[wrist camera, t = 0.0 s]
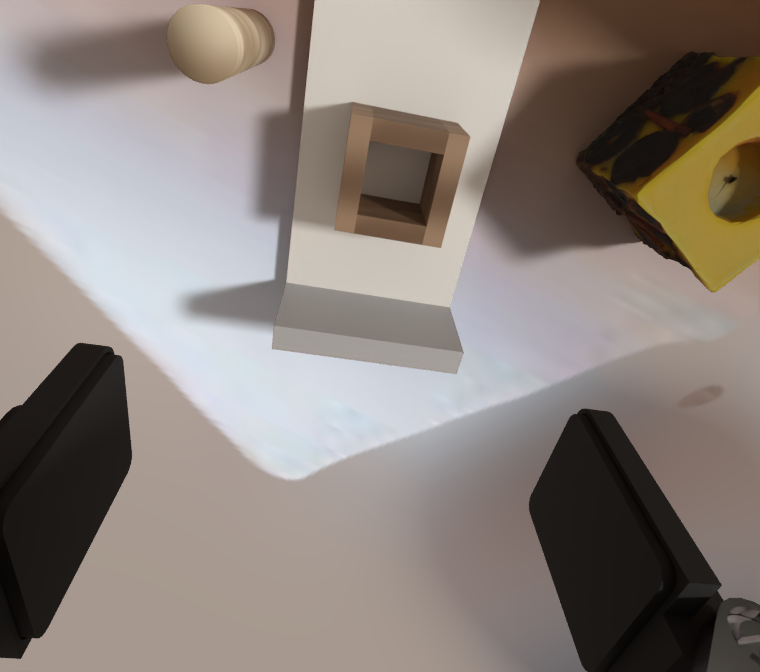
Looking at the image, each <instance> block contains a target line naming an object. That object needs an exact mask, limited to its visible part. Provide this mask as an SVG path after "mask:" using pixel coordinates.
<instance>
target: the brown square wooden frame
mask: <svg viewBox="0 0 760 672" xmlns="http://www.w3.org/2000/svg"><path fill="white" fill-rule="evenodd" d="M369 141H375V142H380V143H385V144H390V145H395V146H401V147H406V148H411V149H416V150H422V151H427V152H431V157H430V161H429V165H428V170H427V174H426V178H425V182H424V187H423V191H422V195H421V200H420V204H417V203H411V202H405V201H400V200H394V199H388V198H383V197H377V196H371V195H366V194H361V189H362V183H363V177H364V171H365V165H366V159H367V153H368V147H369ZM469 141H470V136H469V134H468V133H467V132H466V131H465V130H464V129H463V128H462V127H461V126H460V125H459V124H458V123H456V122H451V121H446V120H441V119H436V118H431V117H426V116H421V115H416V114H411V113H406V112H401V111H396V110H391V109H386V108H381V107H376V106H371V105H366V104H361V103H356V102H353V103H352V110H351V117H350V124H349V130H348V137H347V144H346V151H345V158H344V165H343V171H342V178H341V185H340V192H339V199H338V206H337V213H336V221H335V229H334V230H335V231H341V232H347V233H353V234H359V235H365V236H371V237H377V238H383V239H389V240H395V241H401V242H407V243H413V244H419V245H425V246H431V247H437V248H441V246H442V242H443V238H444V235H445V231H446V227H447V223H448V220H449V216H450V212H451V208H452V205H453V201H454V197H455V193H456V190H457V186H458V182H459V178H460V175H461V171H462V167H463V163H464V160H465V156H466V152H467V148H468V145H469Z"/></svg>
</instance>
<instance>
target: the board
mask: <svg viewBox="0 0 760 672" xmlns="http://www.w3.org/2000/svg"><path fill="white" fill-rule="evenodd" d="M539 3H540V0H315V2H314V12H313V22H312V32H311V42H310V52H309V62H308V72H307V82H306V92H305V102H304V112H303V121H302V131H301V141H300V151H299V161H298V171H297V181H296V191H295V201H294V211H293V221H292V231H291V241H290V251H289V260H288V270H287V280H286V285H285V289H284V292H283V296H282V299H281V303H280V306H279V310H278V313H277V317H276V320H275V324H274V331H273V342H272V349H276V350H284V351H291V352H298V353H306V354H313V355H320V356H328V357H335V358H342V359H350V360H357V361H364V362H372V363H379V364H387V365H394V366H401V367H409V368H416V369H423V370H431V371H438V372H445V373H453V374H457V371H458V368H459V365H460V362H461V359H462V356H463V353H464V352H463V349H462V346H461V343H460V339H459V336H458V333H457V330H456V326H455V323H454V320H453V317H452V313H451V310H450V305H451V301H452V298H453V294H454V291H455V288H456V284H457V281H458V277H459V274H460V271H461V267H462V264H463V260H464V257H465V254H466V250H467V247H468V243H469V240H470V237H471V233H472V230H473V227H474V223H475V220H476V216H477V213H478V210H479V206H480V203H481V199H482V196H483V193H484V189H485V186H486V182H487V179H488V176H489V172H490V169H491V165H492V162H493V159H494V155H495V152H496V148H497V145H498V142H499V138H500V135H501V132H502V128H503V125H504V121H505V118H506V115H507V111H508V108H509V104H510V101H511V98H512V94H513V91H514V87H515V84H516V81H517V77H518V74H519V70H520V67H521V64H522V60H523V57H524V53H525V50H526V47H527V43H528V40H529V37H530V33H531V30H532V26H533V23H534V20H535V16H536V13H537V9H538V6H539ZM353 102H356V103H361V104H366V105H371V106H376V107H381V108H386V109H391V110H396V111H401V112H406V113H411V114H416V115H421V116H426V117H431V118H436V119H441V120H446V121H451V122H456V123H458V124H459V125H460V126H461V127H462V128H463V129H464V130H465V131H466V132H467V133H468V134H469V136H470V141H469V145H468V148H467V152H466V156H465V160H464V163H463V167H462V171H461V175H460V178H459V182H458V186H457V190H456V193H455V197H454V201H453V205H452V208H451V212H450V216H449V220H448V223H447V227H446V231H445V235H444V238H443V242H442V246H441V248H437V247H431V246H425V245H419V244H413V243H407V242H401V241H395V240H389V239H383V238H377V237H371V236H365V235H359V234H353V233H347V232H341V231H335V230H334V229H335V221H336V213H337V206H338V199H339V192H340V185H341V178H342V171H343V165H344V158H345V151H346V144H347V137H348V130H349V124H350V117H351V110H352V103H353ZM430 157H431V152H427V151H422V150H416V149H411V148H406V147H401V146H395V145H390V144H385V143H380V142H375V141H369V147H368V153H367V159H366V165H365V171H364V177H363V183H362V189H361V194H366V195H371V196H377V197H383V198H388V199H394V200H400V201H405V202H411V203H417V204H420V200H421V195H422V191H423V187H424V182H425V178H426V174H427V170H428V165H429V161H430Z"/></svg>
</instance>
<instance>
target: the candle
mask: <svg viewBox="0 0 760 672" xmlns="http://www.w3.org/2000/svg"><path fill="white" fill-rule="evenodd" d="M576 164H577V165H578V167H579V168H580V169H581V170H582V171H583V173H584V174H585V175H586V176H587V177H588V179H589V180H590V181H591V182H592V183H593V186H594V188H596V189H597V191H598V192H599V193H600V195H601V196H602V197H604V198H605V199H606V201H607V203H608V204H609V205H610V206H611V207H612V209H613V210H616V213H617V215H623V214H624V215H626V216H627V218H628V220H629V222H630V224H631V225H632V226H633V229H634V232H635V235H637V236H638V239H640V240H641V241H642V242H643V244H645V245H648V246H649V247H650V248H653V249H654V250H655V251H656V252H657V253H658V254H659V255H661V256H663V257H664V258H665V259H671V260H674V261H677V262H679V263H680V264H681V265H683V266H685V267H687V268H689V269H690V270H691V271H692V272H693V274H694V275H695V277H696V278H697V279H698V280H699V281H700V282H701V283H702V284H703V285H704V286H705V287H706V288H707V289H708V290H709V291H711V292H716V291H718V290H719V289H720V288H722V287H723V286H724V285H726V284H727V283H728V282H729V281H731V280H732V279H733V278H734V277H736V276H737V275H738V274H739V273H741V272H742V271H743V270H745V269H746V268H747V267H749V266H750V265H751V264H752V263H754V262H755V261H756V260H758V259H759V258H760V56H750V57H740V58H739V59H737V58H734V57H718V56H716V55H715V54H714V53H706V52H704V53H701V54H700V53H695V52H693V51H692V52H690V53H689V54H687V55H686V56H684V57H683V58H682V59H681V60H679V61H678V62H677V63H676V64H675V65H674V66H673V67H672V68H671V69H670V70H669V72H667V73H665V74H663V75H662V76H661V77H660V78H659V79H658V80H657V81H656V82H655V83H654V85H653V86H652V88H651V89H649V90H647V91H646V92H645V93H644V94H643V95H642V96H641V97H639V98H638V100H637V101H636V102H635V103H634V104H633V105H631V106H630V107H629V108H628V109H627V110H626V111H625V112H624V113H623V114H622V115H620V116H618V118H617V120H616V121H615V122H614V123H613V124H612V125H611V126H610V127H609V128H608V129H607V130H606V131H605V132H604V133H603V134H601V135H600V136H599V137H598V138H597V139H596V140H595V141H594V142H593V143H592V144H591V145H590V146H589V147H588V148H587V149H586V150H584V151H582V152H581V153H579V157H578V160H577V162H576Z"/></svg>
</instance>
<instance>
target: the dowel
mask: <svg viewBox="0 0 760 672" xmlns="http://www.w3.org/2000/svg"><path fill="white" fill-rule="evenodd" d="M167 45H168V50H169V53H170V55H171V58H172V60H173V61H174V63H175V64H176V66H177V67H178V68H179V70H180V71H181V72H182V73H183V74H185V75H186V76H187V77H189V78H190V79H192V80H194V81H196V82H199V83H203V84H214V83H218V82H220V81H223V80H225V79H227V78H229V77H232V76H234V75H236V74H238V73H241V72H243V71H245V70H247V69H250V68H252V67H254V66H257V65H259V64H261V63H263V62H265V61H266V60H267V59H268V58H269V57H270V56H271V54H272V52H273V50H274V46H275V35H274V31H273V28H272V26H271V24H270V22H269V21H268V20H267V18H266V17H265V16H264V15H262V14H261V13H260V12H258V11H256V10H253V9H245V8H234V7H223V6H212V5H201V4H192V5H187V6H184V7H183V8H181V9H179V10H178V11H177V12H176V13H175V14H174V15H173V17H172V18H171V20H170V22H169V25H168V29H167Z"/></svg>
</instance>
